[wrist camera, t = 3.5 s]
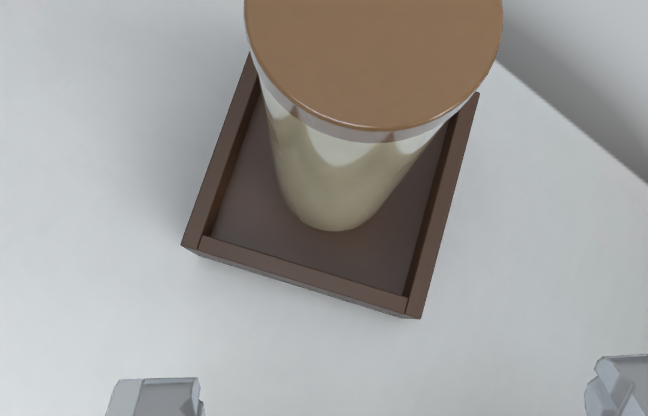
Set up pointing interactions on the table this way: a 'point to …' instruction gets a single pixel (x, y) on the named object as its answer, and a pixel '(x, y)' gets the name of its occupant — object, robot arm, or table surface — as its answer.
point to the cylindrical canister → (362, 92)
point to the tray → (317, 245)
